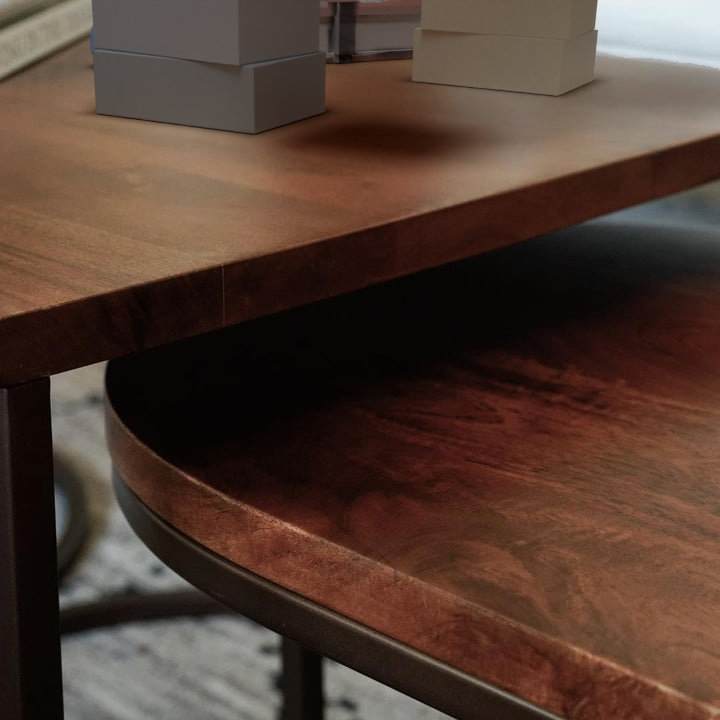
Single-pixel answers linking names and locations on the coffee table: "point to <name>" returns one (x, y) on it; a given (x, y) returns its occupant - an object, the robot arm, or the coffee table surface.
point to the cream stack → (507, 44)
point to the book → (368, 29)
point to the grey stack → (209, 62)
